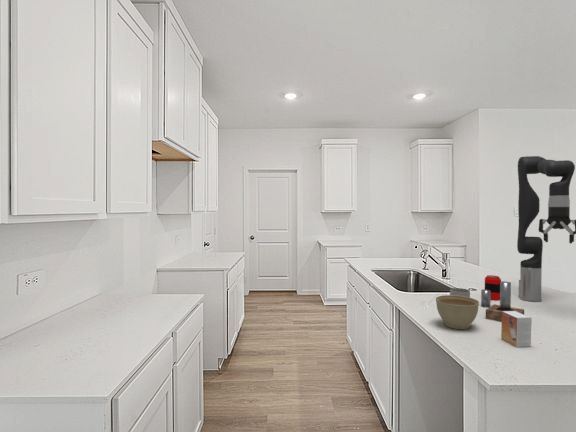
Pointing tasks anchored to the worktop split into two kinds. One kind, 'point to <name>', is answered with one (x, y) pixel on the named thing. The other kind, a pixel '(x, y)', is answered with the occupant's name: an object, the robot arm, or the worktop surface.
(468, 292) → the cup
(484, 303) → the short steel pin
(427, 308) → the worktop surface
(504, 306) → the long steel pin
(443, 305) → the planter bowl
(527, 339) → the small box
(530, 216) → the robot arm
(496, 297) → the soda can
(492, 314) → the walnut bored block
